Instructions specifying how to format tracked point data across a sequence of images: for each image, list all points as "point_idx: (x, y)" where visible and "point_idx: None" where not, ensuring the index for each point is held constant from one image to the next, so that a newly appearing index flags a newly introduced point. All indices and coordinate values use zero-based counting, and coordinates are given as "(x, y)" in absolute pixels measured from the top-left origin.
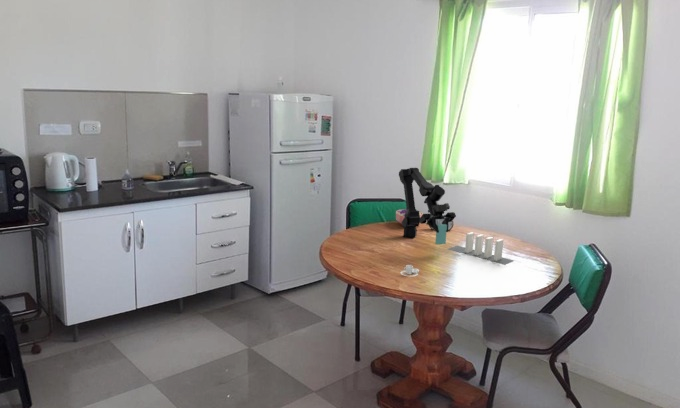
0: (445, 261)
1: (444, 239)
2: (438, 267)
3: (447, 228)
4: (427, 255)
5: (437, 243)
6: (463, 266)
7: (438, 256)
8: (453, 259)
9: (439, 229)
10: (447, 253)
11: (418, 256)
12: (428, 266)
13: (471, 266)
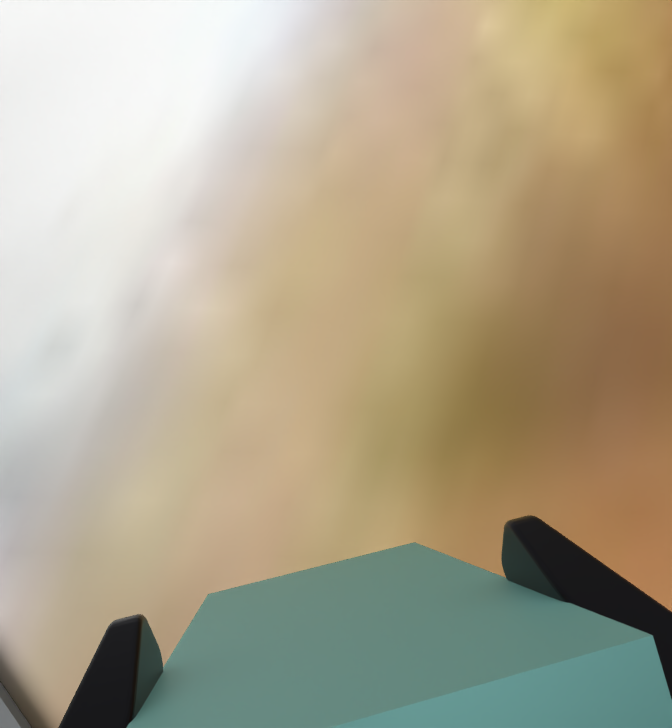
0: (334, 225)
1: (237, 605)
2: (497, 22)
3: (97, 713)
4: (521, 503)
5: (410, 547)
6: (160, 23)
7: (366, 449)
8: (183, 301)
9: (495, 612)
10: (163, 603)
11: (663, 459)
12: (610, 65)
13: (48, 12)
